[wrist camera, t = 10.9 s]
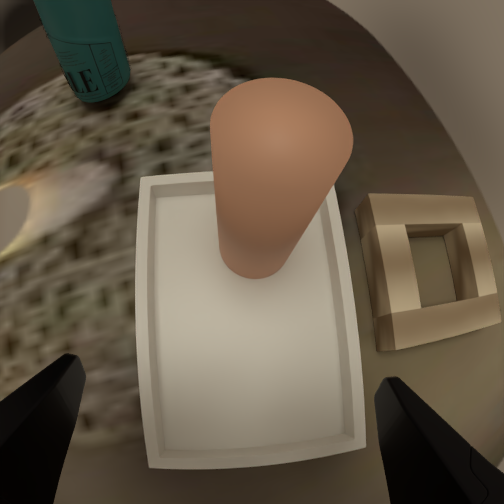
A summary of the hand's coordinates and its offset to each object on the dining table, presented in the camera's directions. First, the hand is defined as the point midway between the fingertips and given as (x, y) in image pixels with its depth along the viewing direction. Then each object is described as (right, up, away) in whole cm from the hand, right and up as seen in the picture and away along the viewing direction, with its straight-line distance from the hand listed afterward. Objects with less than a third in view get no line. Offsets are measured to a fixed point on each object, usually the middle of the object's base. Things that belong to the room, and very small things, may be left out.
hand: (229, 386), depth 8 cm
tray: (0, -1, +14) cm, 14 cm away
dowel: (+1, +4, +15) cm, 15 cm away
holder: (+15, +2, +15) cm, 21 cm away
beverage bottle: (-15, +20, +20) cm, 32 cm away
